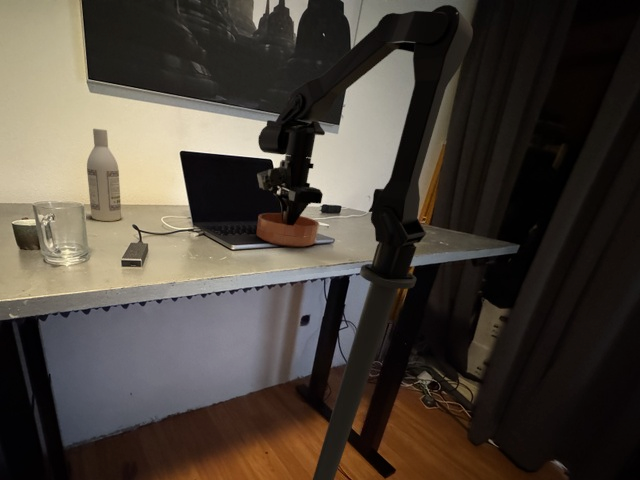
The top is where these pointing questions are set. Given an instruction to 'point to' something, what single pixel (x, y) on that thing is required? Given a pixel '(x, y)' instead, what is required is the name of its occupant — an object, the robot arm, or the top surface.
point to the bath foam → (103, 180)
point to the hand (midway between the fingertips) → (286, 227)
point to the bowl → (287, 230)
